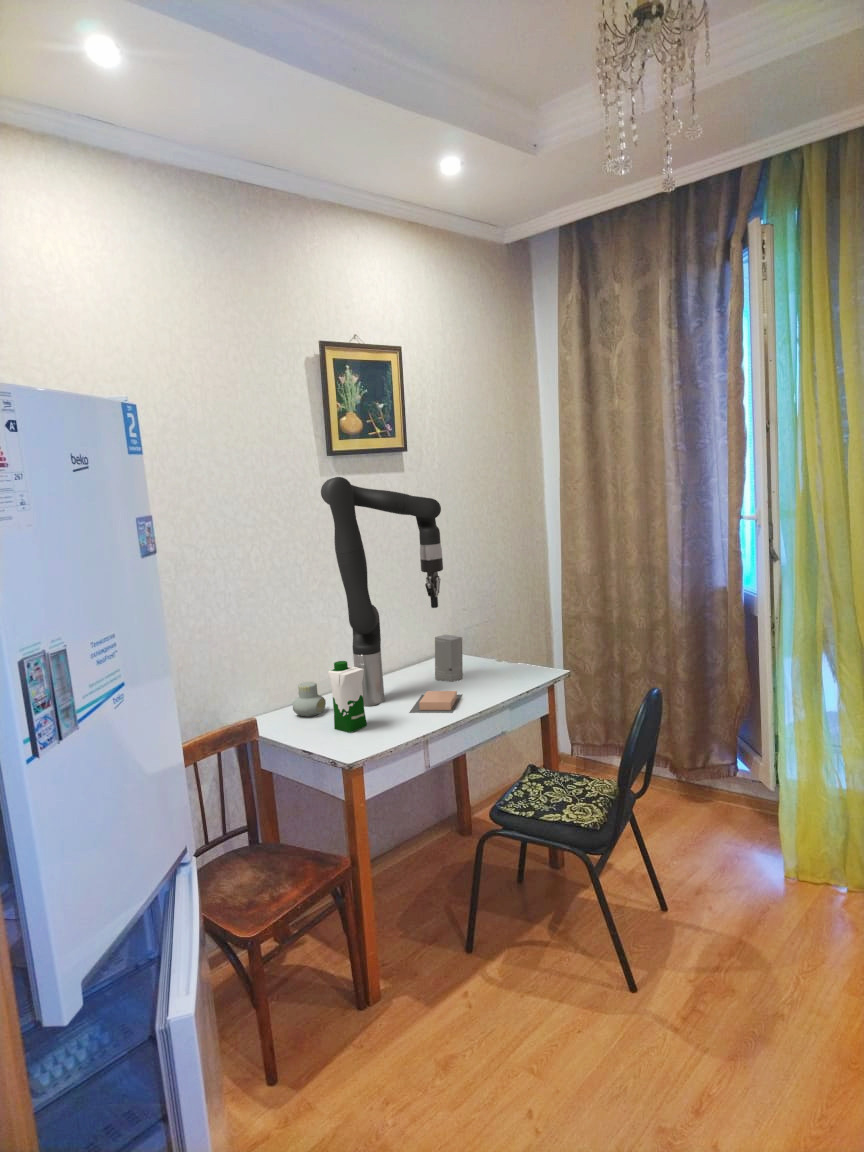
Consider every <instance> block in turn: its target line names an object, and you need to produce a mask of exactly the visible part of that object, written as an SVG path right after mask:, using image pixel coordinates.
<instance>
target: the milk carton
mask: <svg viewBox="0 0 864 1152" xmlns="http://www.w3.org/2000/svg"><path fill="white" fill-rule="evenodd" d="M333 668H334V669H331V670H329V671H327V674H328V677H329V681H330V684H331V685H330V686H331V694H332V704H333V725H334V728H333V729H334V730H337V731H340V732H345V733H349V734H352V733H354V732H357V731H358V730H359V731H360V729H364V728H366V727H368V724H367V718H366V717H367V716H366V712H365V711H366V710H365V706H364V700H363V687H362V680H363V672H364V669H361V668H358V667H354V666H351V665H350V666H349V664H348V661H347V660H337V661H335V662H333Z"/></svg>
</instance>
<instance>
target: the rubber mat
mask: <svg viewBox="0 0 864 1152" xmlns="http://www.w3.org/2000/svg"><path fill="white" fill-rule="evenodd" d="M424 695H425V694H421V695H420V697H419V698H418V700H416V702H415V704H414V705H413V707H412V708H411V709H410V710H409V712H408V714H453V713H454V712H455V710H456V708H457V706H458V704H459V703H460V701H461V699H462V697H463V694H459V693H458V694H457V700H456V702H455V703H454V705H453V707H452V709H451V710H420V707H419V702H420V701H421V699H422V698H423V696H424Z"/></svg>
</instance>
